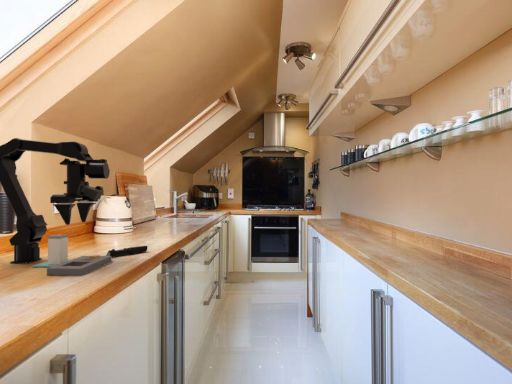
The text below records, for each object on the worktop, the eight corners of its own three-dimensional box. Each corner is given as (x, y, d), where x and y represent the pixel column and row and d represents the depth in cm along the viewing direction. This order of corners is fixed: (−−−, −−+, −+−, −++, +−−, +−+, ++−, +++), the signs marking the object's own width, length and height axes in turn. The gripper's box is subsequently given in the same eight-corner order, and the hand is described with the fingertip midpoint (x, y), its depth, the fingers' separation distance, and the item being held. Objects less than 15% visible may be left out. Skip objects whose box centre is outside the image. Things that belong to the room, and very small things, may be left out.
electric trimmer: (149, 253, 125) (149, 245, 125) (109, 259, 114) (109, 250, 114) (144, 252, 128) (144, 244, 128) (105, 257, 116) (105, 249, 116)
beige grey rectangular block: (47, 263, 102) (47, 236, 102) (56, 261, 107) (56, 234, 107) (60, 263, 102) (60, 236, 102) (67, 261, 106) (68, 234, 106)
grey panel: (46, 275, 90) (46, 266, 90) (82, 261, 108) (82, 254, 108) (81, 275, 90) (81, 267, 90) (111, 261, 108) (111, 254, 108)
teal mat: (32, 267, 100) (32, 265, 100) (53, 260, 110) (53, 259, 110) (63, 267, 99) (63, 266, 99) (81, 260, 109) (81, 259, 109)
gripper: (83, 177, 100) (83, 226, 100) (112, 179, 118) (111, 221, 118) (49, 177, 100) (48, 226, 100) (82, 179, 119) (82, 220, 119)
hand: (76, 223), depth 109 cm, fingers open, 9 cm apart
